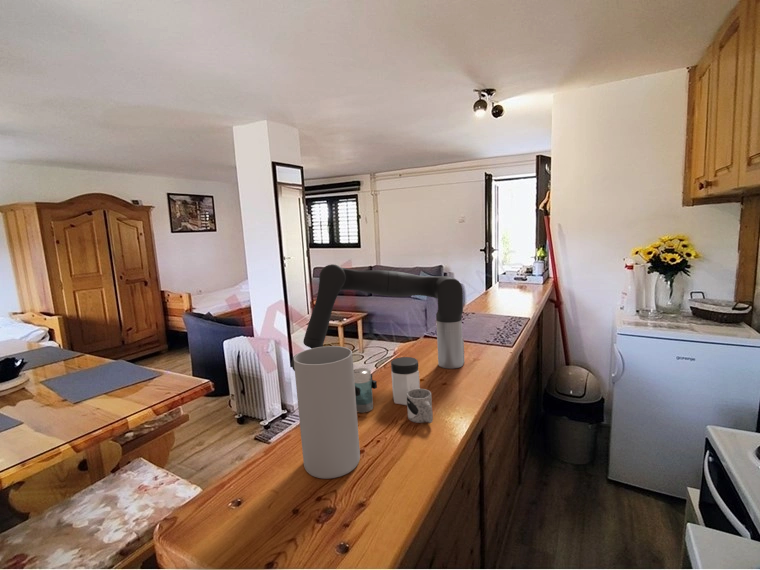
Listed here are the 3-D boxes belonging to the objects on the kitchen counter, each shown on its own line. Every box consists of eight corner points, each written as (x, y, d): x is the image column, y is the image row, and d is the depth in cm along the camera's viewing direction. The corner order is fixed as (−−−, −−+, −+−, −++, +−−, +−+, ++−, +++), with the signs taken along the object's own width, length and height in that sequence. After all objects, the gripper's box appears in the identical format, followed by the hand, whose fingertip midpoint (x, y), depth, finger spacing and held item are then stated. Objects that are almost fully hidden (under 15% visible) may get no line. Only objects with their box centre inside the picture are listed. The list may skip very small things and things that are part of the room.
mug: (403, 414, 103) (402, 391, 103) (425, 409, 106) (424, 386, 105) (420, 431, 94) (419, 406, 93) (443, 424, 96) (442, 400, 96)
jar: (402, 408, 107) (400, 368, 105) (386, 399, 114) (384, 361, 112) (426, 399, 112) (424, 361, 110) (409, 390, 119) (407, 354, 117)
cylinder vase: (306, 486, 75) (295, 368, 72) (301, 453, 87) (292, 351, 84) (366, 472, 79) (357, 359, 76) (353, 442, 91) (346, 343, 88)
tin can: (364, 401, 112) (362, 366, 110) (377, 407, 108) (374, 371, 106) (349, 408, 108) (346, 372, 107) (362, 414, 104) (359, 377, 102)
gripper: (313, 369, 113) (346, 384, 100) (350, 357, 122) (385, 368, 109) (315, 393, 114) (348, 410, 101) (352, 379, 123) (386, 393, 110)
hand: (367, 388), depth 105 cm, fingers closed on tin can, 5 cm apart
